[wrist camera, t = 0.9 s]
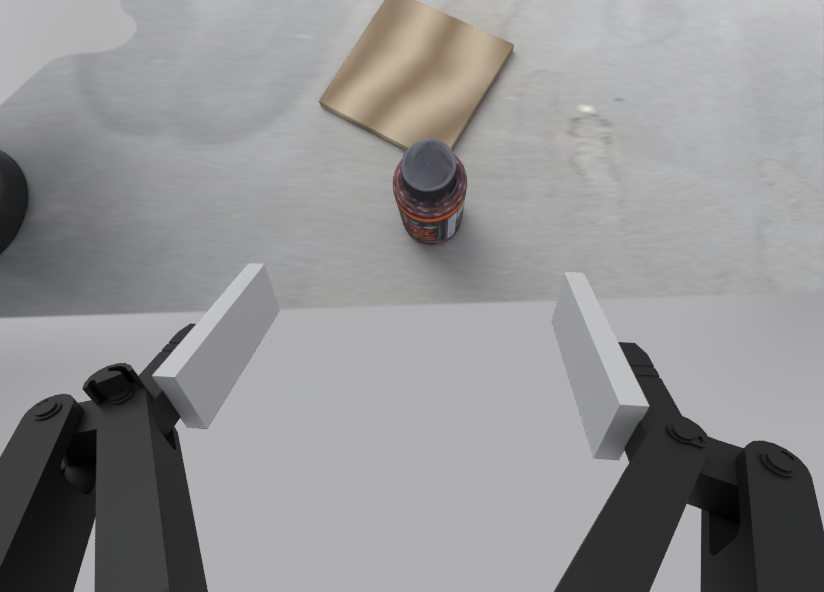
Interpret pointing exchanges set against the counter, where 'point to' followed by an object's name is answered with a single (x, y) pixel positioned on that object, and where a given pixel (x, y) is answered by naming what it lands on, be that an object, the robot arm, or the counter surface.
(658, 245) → the counter surface
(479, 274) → the counter surface
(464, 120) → the oak pad
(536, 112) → the counter surface
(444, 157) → the supplement bottle
